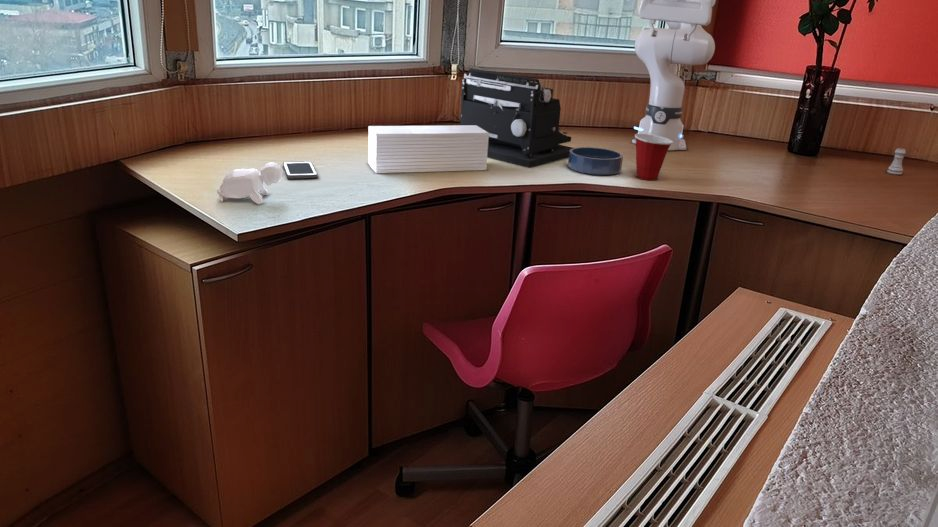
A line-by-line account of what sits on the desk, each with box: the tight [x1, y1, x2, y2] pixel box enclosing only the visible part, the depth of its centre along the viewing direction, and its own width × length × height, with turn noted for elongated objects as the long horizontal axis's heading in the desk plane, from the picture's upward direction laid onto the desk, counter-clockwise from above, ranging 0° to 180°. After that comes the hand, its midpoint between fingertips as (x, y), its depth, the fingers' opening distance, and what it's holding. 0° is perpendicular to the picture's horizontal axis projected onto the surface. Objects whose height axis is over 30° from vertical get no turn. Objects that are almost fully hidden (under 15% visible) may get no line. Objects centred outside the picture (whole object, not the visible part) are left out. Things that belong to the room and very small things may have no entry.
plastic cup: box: [634, 133, 673, 181], centre depth 205 cm, size 11×11×12 cm
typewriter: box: [459, 67, 574, 169], centre depth 225 cm, size 31×27×25 cm
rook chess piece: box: [886, 147, 907, 176], centre depth 230 cm, size 4×4×8 cm
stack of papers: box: [367, 124, 489, 174], centre depth 202 cm, size 32×11×11 cm, turn 109°
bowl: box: [567, 146, 624, 176], centre depth 212 cm, size 16×16×5 cm
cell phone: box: [282, 160, 318, 180], centre depth 191 cm, size 8×15×1 cm, turn 18°
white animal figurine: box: [216, 161, 284, 205], centre depth 166 cm, size 9×8×15 cm
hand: (669, 38), depth 206 cm, fingers open, 8 cm apart
